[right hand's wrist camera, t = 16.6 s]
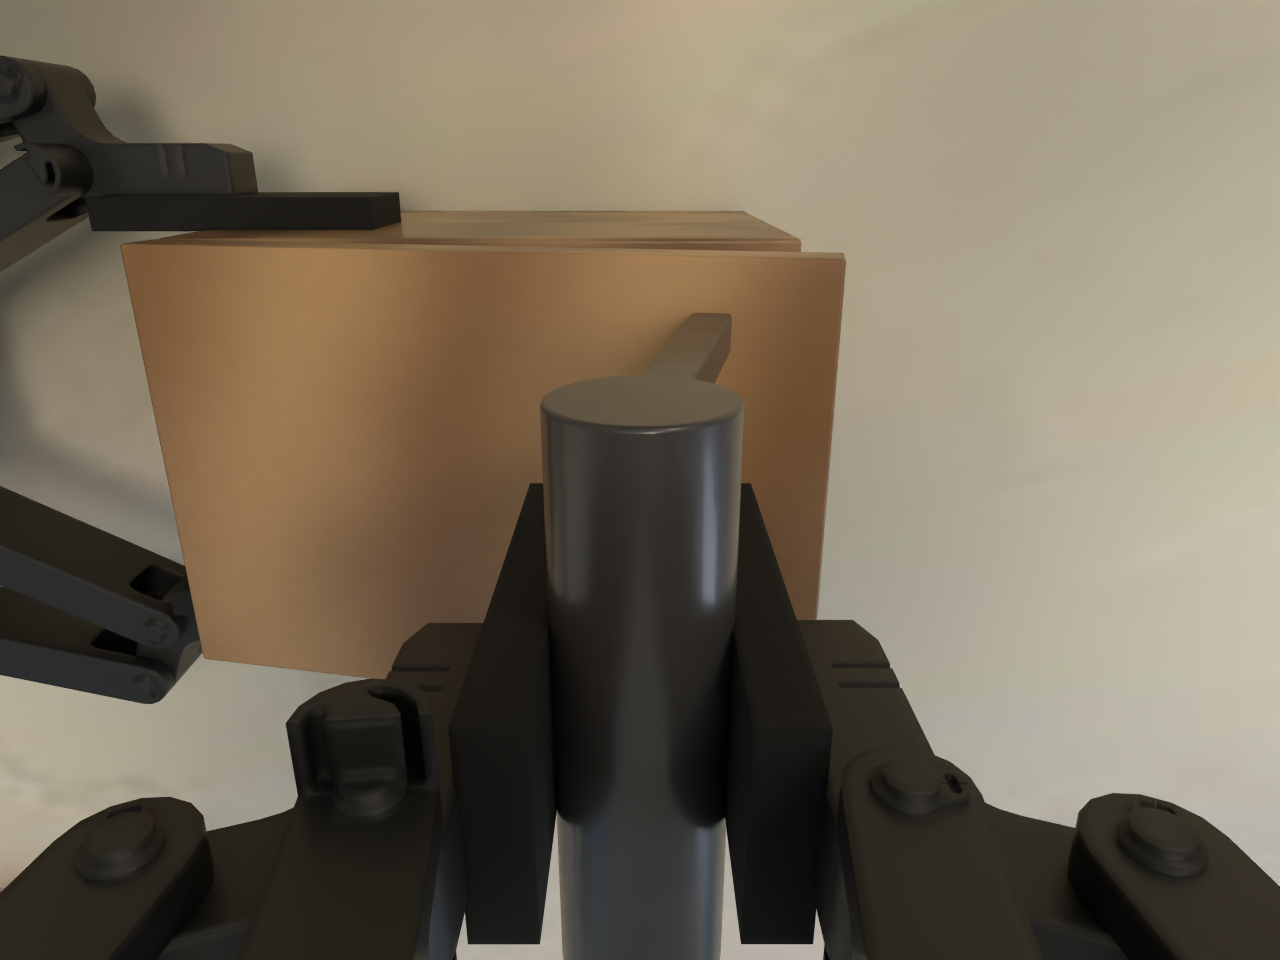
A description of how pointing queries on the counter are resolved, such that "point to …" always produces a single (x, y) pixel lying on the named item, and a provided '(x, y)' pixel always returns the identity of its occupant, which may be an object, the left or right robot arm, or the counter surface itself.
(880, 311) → the counter surface
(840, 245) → the counter surface
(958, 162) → the counter surface
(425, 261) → the lid
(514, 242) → the chest
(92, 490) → the counter surface
